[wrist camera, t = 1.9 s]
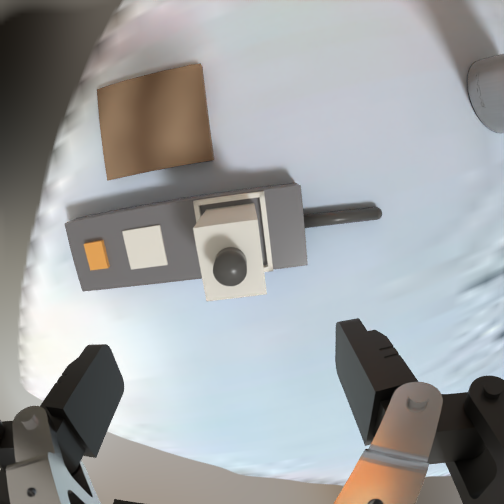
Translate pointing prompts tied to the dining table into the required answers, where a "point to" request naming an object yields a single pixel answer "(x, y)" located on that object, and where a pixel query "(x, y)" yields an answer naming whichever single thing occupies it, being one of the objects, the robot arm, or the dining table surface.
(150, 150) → the walnut board
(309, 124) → the dining table surface
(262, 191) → the grey panel with rod
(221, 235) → the plug
